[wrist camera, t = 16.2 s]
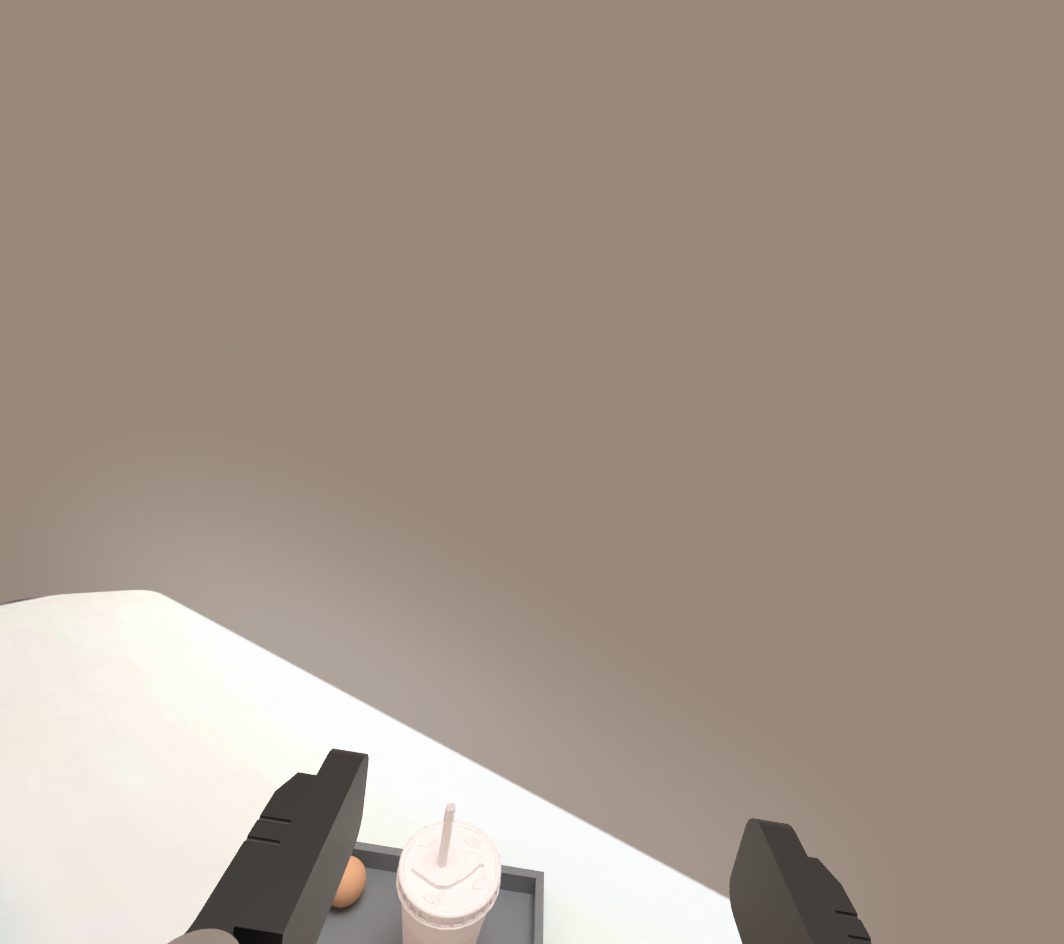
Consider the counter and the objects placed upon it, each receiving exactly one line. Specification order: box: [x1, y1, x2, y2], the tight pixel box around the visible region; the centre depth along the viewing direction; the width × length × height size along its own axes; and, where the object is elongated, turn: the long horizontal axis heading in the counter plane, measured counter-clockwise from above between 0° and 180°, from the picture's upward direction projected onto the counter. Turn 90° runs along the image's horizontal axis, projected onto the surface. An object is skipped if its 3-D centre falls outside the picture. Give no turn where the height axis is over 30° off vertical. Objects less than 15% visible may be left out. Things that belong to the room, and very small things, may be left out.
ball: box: [332, 856, 366, 908], centre depth 39 cm, size 3×3×3 cm
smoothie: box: [396, 803, 501, 944], centre depth 34 cm, size 6×6×14 cm
